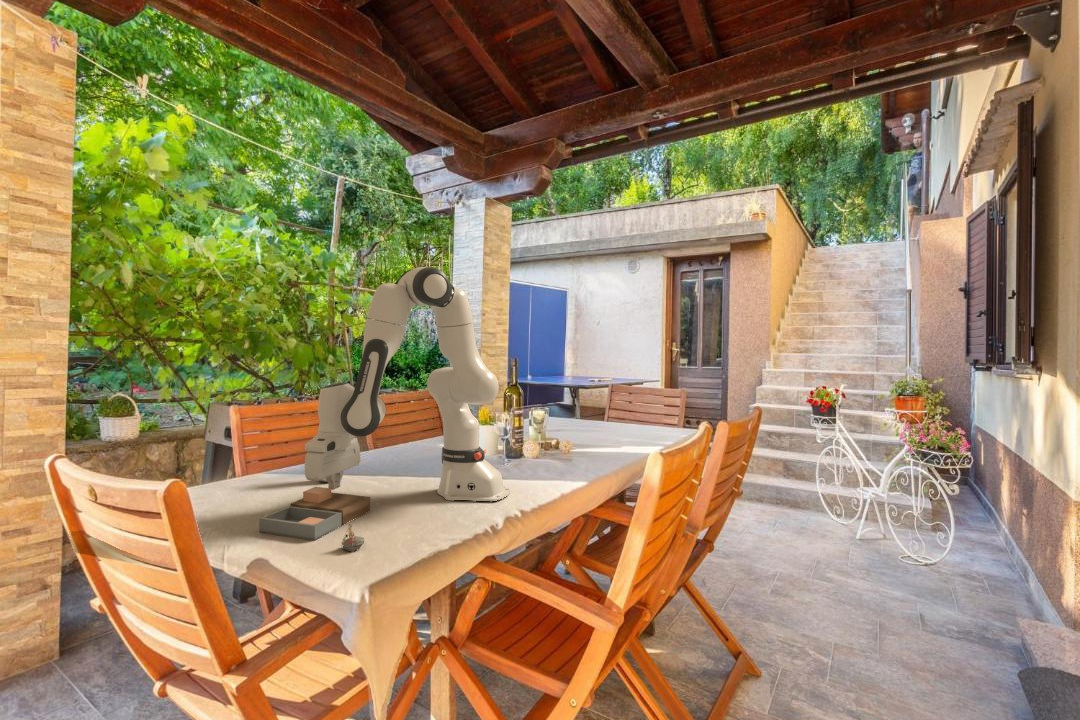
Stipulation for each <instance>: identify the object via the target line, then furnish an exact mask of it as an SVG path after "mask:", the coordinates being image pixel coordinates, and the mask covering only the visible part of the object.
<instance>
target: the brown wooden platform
mask: <svg viewBox="0 0 1080 720" xmlns="http://www.w3.org/2000/svg"><path fill="white" fill-rule="evenodd" d="M289 506H292V507H300V508H308V509H316V510H324V511H331V512H339V513H342V525H343V526H345V525H347V524H348V523H347V522H349V521H351V520H353V519H354V520H356V519H358V518H360V517H361V515H362V516H363V514H364V515H365V513H366V512H367V513H369V512H371V496H366V495H357V494H347V493H341V492H333V491H331V498H329V499H327V500H324V501H322V502H320V503H316V502H308V501H303V498H300V499H297V500H296V501H294V502H291V503H290V504H289ZM368 511H369V512H368ZM367 513H366V514H367ZM359 516H360V517H359ZM357 517H358V518H357ZM355 518H356V519H355ZM354 520H353V521H354ZM351 522H352V521H351ZM346 523H347V524H346ZM349 523H350V522H349ZM344 524H345V525H344Z"/></svg>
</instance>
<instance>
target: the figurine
mask: <svg viewBox="0 0 1080 720" xmlns="http://www.w3.org/2000/svg"><path fill="white" fill-rule="evenodd" d="M352 529H353V525H352V523H348V527H347V530H346V532H345V534H344V536H343V538H342V539H341V540H342V542H341V547H342V548H341V550H345V551H347V552H350V551H354V552H356V551H357V549H358V550H360V549H361V548H360V547H362V546H363V545H364V544H365V537H362V536H356V534H355V533H354V530H352ZM347 532H348V534H347ZM355 550H356V551H355Z"/></svg>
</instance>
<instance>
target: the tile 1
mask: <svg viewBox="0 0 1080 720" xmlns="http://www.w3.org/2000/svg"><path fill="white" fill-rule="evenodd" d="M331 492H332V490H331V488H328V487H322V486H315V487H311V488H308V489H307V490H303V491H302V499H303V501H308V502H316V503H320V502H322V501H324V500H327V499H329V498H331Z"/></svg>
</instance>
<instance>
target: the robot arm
mask: <svg viewBox="0 0 1080 720" xmlns="http://www.w3.org/2000/svg"><path fill="white" fill-rule="evenodd" d="M370 301H371V302H370V304H369V308H368V311H367V313H366V314H367V315H366V318H365V319H366V320H365V325H364V332H363V343H362V354H361V361H360V366H359V370H358V375H357V379H356V382H355V385H354V386H352V385H351V384H350V383H349V382H346V381H345V382H344V381H343V382H336V383H330V384H327V385H325V386H324V387H322V388H321V389H320V392H319V396H318V405H317V416H318V421H319V423H318V428H317V434H316V435H314V437H313V438H311V439H310V440H309V441H307V442H306V443H305V445H304V450H305V452H307V453H306V454H305V457H304V477H305V478H306V480H307V481H314V482H317V481H318V480H321V479H323V478H326V480H327V482H326V483H327V484H328V487H327V488H331V491H333V490H336V489H339V488H340V487H341V481H342V478H343V476H344V472H345V471H347V470H349V469H353V468H355V467H358V466H360V463H361V448H360V443H359V442H358V440H359V439H358V438H357V437H360V438H362V437H367V436H370V435H371V434H372V433H374V432H375V431H376V430H377V429H378V427H379V425H380V424H381V422H382V421H383V420H384V418H385V417H386V414H387V407H386V403H385V402H384V400H383V399H382V398H381V397H379V393H380V390H381V385H382V380H383V376H384V373H385V370H386V367H387V365H388V364H389V362H390V360H391V359H392V357H394V355H395V354H396V353H397V352H398V350H399V348H400V347H401V344H402V342H403V338H404V337H405V333H406V328H407V324H408V318H409V315H410V313H411V311H412V309H413V308H415V306H430V307H431V309H432V310H433V312H434V316H435V325H436V331H437V340H438V347H439V351H440V353H441V354H442V355H443V356H444V357H445V358H446V359H447V360H448V361H449V363H450V364H451V366H443V367H440V368H436V369H434V370H432V371H431V373H429V375H428V378H427V382H426V383H427V384H426V387H427V391H428V393H429V394H430V396H431V397H432V398H433V399H434V401H435V402H436V404H437V406H438V409H439V412H440V415H441V418H442V419H441V420H442V424H443V425H442V428H443V430H442V431H443V446H442V447H441V464H442V467H441V468H442V469H441V476H440V482H439V485H438V487H437V488H438V489H437V491H436V492H437V494H438V495H440V496H441V497H443V498H445V499H446V501H454V500H477V501H497V500H500V499H502V500H504V499H505V498H504V497H506V496H507V495H508V494H509V493H510V492H511V489H510V487H508V486H504V482H503V476H502V473H501V471H499V470H498V469H497V468H495V466H493V465H492V464H491V463H489V462H488V460H487V459H485V454H486V453H487V449H482V448H481V447H480V422H479V420H478V418H476V417H475V416H474V415H473V413H472V412H471V409H470V406H469V405H473V406H474V405H475V406H477V405H478V406H479V405H486V404H491V403H493V401H494V400H495V399H496V398H497V396H498V394H499V389H500V386H499V380H498V378H497V376H496V374H494V373H493V372H491V370H490V369H489V368H488V367H487V365H486V364H485V362H484V361H483V358H482V357H481V355H480V353H479V350H478V347H477V342H476V335H475V329H474V321H473V320H474V319H473V314H472V309H471V304H470V301H469V298H468V295H467V293H466V292H465V291H464V290H463V289H462V288H460V287H455V286H453V284H452V282H451V281H450V279H449V277H448V276H447V274H446V273H445V272H444V271H443V270H441V269H439V268H437V267H435V266H419V267H416V268H411V269H408V270H406V271H405V272H404V273H403V274H402V275H400V277H399V278H398V279H397V280H396V281H395V282H394V283H392V282H385V283H382V284H380V285H379V286H378V287H377V288H376V289H375V291H374V294H373V297H372V299H371V300H370ZM318 482H319V481H318ZM509 495H510V494H509ZM509 495H508V496H509ZM508 496H507V497H508ZM507 497H506V498H507ZM503 498H504V499H503ZM445 499H444V500H445ZM500 501H501V500H500ZM497 502H498V501H497Z"/></svg>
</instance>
